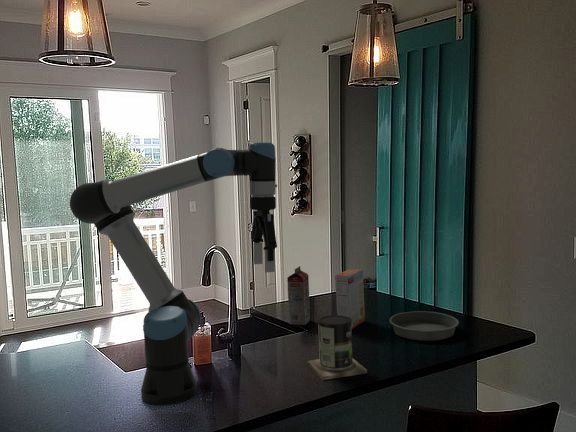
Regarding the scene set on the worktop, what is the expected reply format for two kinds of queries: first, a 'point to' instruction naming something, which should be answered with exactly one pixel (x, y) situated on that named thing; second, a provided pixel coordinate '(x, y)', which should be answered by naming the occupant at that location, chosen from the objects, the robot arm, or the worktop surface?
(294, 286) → the juice carton
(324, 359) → the coffee can
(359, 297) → the cracker box
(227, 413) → the worktop surface
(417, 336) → the cake pan
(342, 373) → the rest board
